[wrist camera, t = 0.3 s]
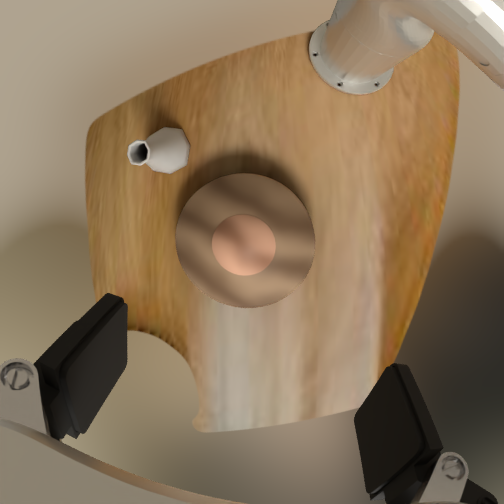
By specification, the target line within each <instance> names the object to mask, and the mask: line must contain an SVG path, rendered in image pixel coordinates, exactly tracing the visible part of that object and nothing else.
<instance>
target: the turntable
mask: <svg viewBox="0 0 504 504" xmlns="http://www.w3.org/2000/svg"><path fill="white" fill-rule="evenodd" d="M176 249H177V254H178V258H179V261H180V263H181V266H182V268H183V270H184V271H185V273H186V275H187V276H188V278H189V279H190V280H191V282H192V283H193V284H194V285H195V286H196V287H197V288H198V289H199V290H200V291H202V292H203V293H204V294H206V295H207V296H209V297H210V298H212V299H214V300H216V301H218V302H220V303H223V304H226V305H229V306H234V307H241V308H255V307H262V306H266V305H270V304H273V303H275V302H278V301H280V300H282V299H283V298H285V297H287V296H288V295H289V294H291V293H292V292H293V291H294V290H295V289H296V288H298V286H299V285H300V284H301V283H302V282H303V280H304V279H305V277H306V276H307V274H308V272H309V270H310V268H311V265H312V262H313V258H314V253H315V234H314V229H313V225H312V222H311V219H310V217H309V214H308V212H307V210H306V208H305V207H304V205H303V203H302V202H301V201H300V199H299V198H298V197H297V196H296V195H295V194H294V193H293V192H292V191H291V190H290V189H289V188H287V187H286V186H284V185H283V184H282V183H280V182H278V181H276V180H274V179H272V178H269V177H266V176H263V175H259V174H253V173H235V174H230V175H226V176H223V177H220V178H217V179H215V180H213V181H211V182H209V183H208V184H206V185H204V186H203V187H202V188H200V189H199V190H198V191H197V192H196V193H195V194H193V195H192V197H191V198H190V199H189V200H188V202H187V203H186V205H185V206H184V208H183V210H182V212H181V214H180V217H179V219H178V223H177V228H176Z"/></svg>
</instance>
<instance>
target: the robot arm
mask: <svg viewBox="0 0 504 504" xmlns="http://www.w3.org/2000/svg"><path fill="white" fill-rule="evenodd" d="M434 31H435V32H436V33H437V34H439V35H440V36H442V37H444V38H445V39H446V40H447V41H449V42H450V43H451V44H452V45H454V46H455V47H456V48H457V49H458V50H459V51H461V52H462V53H463V54H464V55H465V56H466V57H467V58H469V59H470V60H471V61H472V62H473V63H474V64H475V65H476V66H477V67H478V68H479V69H480V70H482V71H483V72H484V73H485V74H486V75H487V76H488V77H489V78H490V79H491V80H492V81H493V82H494V83H495V84H496V85H497V86H498V87H500V88H501V89H502V90H504V0H338V1H337V4H336V6H335V9H334V11H333V14H332V16H331V19H330V20H328V21H326V22H324V23H323V24H321V25H320V26H319V27H318V28H317V29H316V30H315V31H314V33H313V35H312V37H311V40H310V44H309V56H310V61H311V63H312V66H313V68H314V70H315V71H316V72H317V74H318V75H319V76H320V77H321V78H322V80H323V81H324V82H326V83H327V84H328V85H330V86H331V87H333V88H335V89H337V90H339V91H341V92H344V93H347V94H353V95H364V94H370V93H372V92H375V91H377V90H379V89H381V88H382V87H383V86H384V85H385V84H387V82H388V81H389V80H390V78H391V76H392V73H393V70H394V66H396V65H397V64H399V63H400V62H402V61H404V60H405V59H407V58H408V57H410V56H411V55H413V54H415V53H416V52H418V51H419V50H421V49H422V48H424V47H425V46H426V45H427V44H428V42H429V41H430V40H431V38H432V36H433V33H434ZM313 54H316V55H317V56H316V57H315V56H313ZM338 83H339V84H340V86H338V85H337V84H338ZM374 84H376V85H377V86H375V85H374ZM127 312H128V306H127V304H126V303H124V300H123V298H122V297H119V296H116V295H113V294H110V293H107V294H105V295H104V296H103V297H102V298H101V299H100V300H99V301H98V302H97V303H96V304H95V305H94V306H93V307H92V308H91V309H90V310H89V311H88V312H87V313H86V314H85V315H84V316H83V317H81V319H79V320H78V321H76V322H74V323H73V324H72V325H71V326H70V327H69V328H68V329H67V330H66V331H65V332H64V333H63V334H62V335H61V336H60V337H59V338H58V339H57V340H56V341H55V342H54V343H53V344H52V345H51V346H50V347H49V348H48V349H47V350H46V351H45V352H44V354H43V355H42V356H41V357H40V358H39V359H38V360H37V361H36V362H35V363H34V364H32V363H31V362H29V361H27V360H24V359H18V358H16V359H10V360H8V361H6V362H4V363H3V364H2V365H1V366H0V504H246V503H239V502H234V501H228V500H223V499H218V498H214V497H209V496H204V495H200V494H196V493H192V492H188V491H185V490H181V489H177V488H173V487H170V486H167V485H164V484H161V483H157V482H154V481H151V480H148V479H146V478H143V477H140V476H137V475H135V474H132V473H129V472H127V471H124V470H122V469H119V468H116V467H114V466H112V465H109V464H107V463H105V462H102V461H100V460H97V459H95V458H93V457H91V456H89V455H87V454H84V453H82V452H80V451H78V450H76V449H74V448H72V447H70V446H68V445H66V444H64V443H62V440H61V439H63V438H64V436H65V435H66V434H68V435H70V436H72V437H73V438H75V439H77V437H78V436H79V434H80V433H82V434H84V433H85V432H86V431H87V429H88V428H89V426H90V424H91V423H92V421H93V419H94V418H95V416H96V415H97V413H98V411H99V410H100V408H101V406H102V405H103V403H104V401H105V400H106V398H107V397H108V395H109V393H110V392H111V390H112V389H113V387H114V385H115V384H116V382H117V381H118V379H119V377H120V376H121V374H122V373H123V371H124V370H125V368H126V365H127ZM354 423H355V429H356V434H357V439H358V445H359V450H360V456H361V462H362V468H363V474H364V481H365V487H366V491H367V493H370V500H382V499H384V498H385V501H386V503H385V504H498V502H497V499H496V498H495V497H494V495H492V494H491V493H490V492H488V491H486V490H485V489H483V488H481V487H480V486H478V485H477V484H475V483H474V482H472V481H470V480H469V479H467V477H468V466H467V464H466V461H465V460H464V459H463V458H462V457H461V456H460V455H458V454H456V453H454V452H447V453H444V454H442V455H441V454H440V451H441V450H442V449H443V446H442V443H441V440H440V438H439V435H438V433H437V430H436V428H435V425H434V423H433V420H432V418H431V416H430V413H429V411H428V409H427V406H426V404H425V402H424V400H423V397H422V395H421V393H420V390H419V388H418V386H417V384H416V382H415V379H414V377H413V375H412V373H411V371H410V369H409V367H408V366H407V365H404V364H396V363H393V364H391V365H390V366H389V367H386V369H385V370H384V372H383V373H382V375H381V377H380V378H379V380H378V381H377V383H376V384H375V386H374V387H373V389H372V391H371V392H370V394H369V395H368V397H367V398H366V399H365V401H364V402H363V404H362V405H361V407H360V408H359V410H358V411H357V412H356V414H355V417H354Z"/></svg>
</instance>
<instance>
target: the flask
mask: <svg viewBox="0 0 504 504" xmlns="http://www.w3.org/2000/svg"><path fill="white" fill-rule="evenodd" d="M189 150H190V144H189V142H188V140H187V138H186V136H185V134H184V132H183V130H182V129H177V128H168V127H164V128H162V129H160V130H159V131H157V132H155V133H154V134H152V135H150V136H149V137H148V138H147V139H146V141H144V140H136V141H134V142H133V143H131V144H130V145H129V146H128V153H127V156H128V158H129V160H130V162H131V164H134V165H143V164H144V163H146V164H147V165H148V166H149V167H150V168H151V169H152V170H153V171H158V172H164V173H169V174H171V173H173V172H175V171H177V170H179V169H180V168H182V167H184V166H186V165H187V162H188V156H189Z"/></svg>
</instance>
